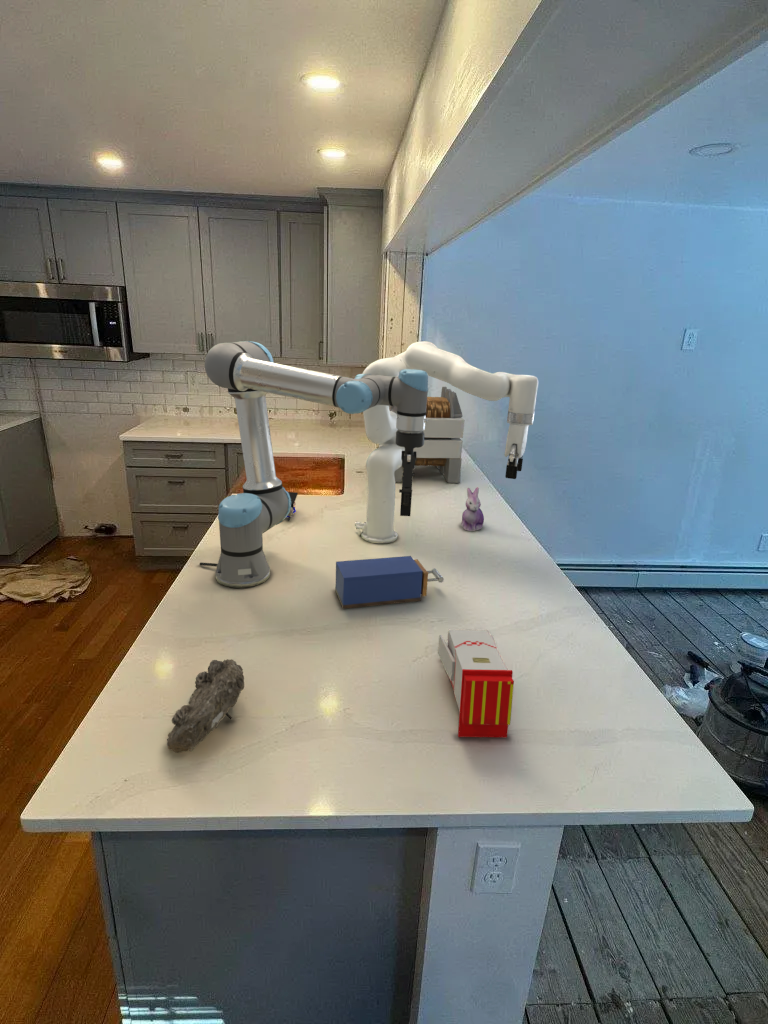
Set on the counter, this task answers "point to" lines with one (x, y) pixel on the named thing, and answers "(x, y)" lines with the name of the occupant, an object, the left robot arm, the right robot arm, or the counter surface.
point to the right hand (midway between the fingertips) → (513, 474)
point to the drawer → (425, 577)
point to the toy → (478, 682)
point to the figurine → (472, 512)
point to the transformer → (440, 437)
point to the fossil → (206, 705)
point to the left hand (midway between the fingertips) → (405, 507)
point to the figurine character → (292, 504)
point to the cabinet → (378, 581)
